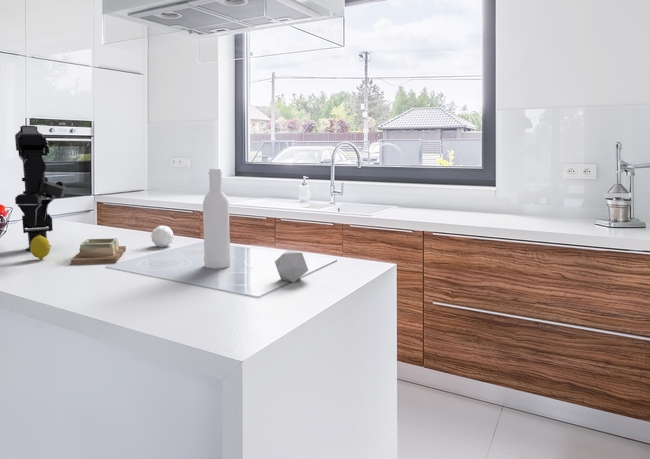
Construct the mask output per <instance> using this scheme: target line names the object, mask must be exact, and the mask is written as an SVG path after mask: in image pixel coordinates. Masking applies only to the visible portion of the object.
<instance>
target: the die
mask: <svg viewBox="0 0 650 459" xmlns="http://www.w3.org/2000/svg"><path fill="white" fill-rule="evenodd" d="M274 264H275V267H276V269H277V272H278V276H279V278H280V280H282V281H286V280H287V282H291V283H296V282H297V281H298V280H299V279H300V278H301V277H302V276H304V275H305V274H306V273H307V272H308V271H309V269H308V265H307V263H306V260H305V257H304V254H303V252H301V251H296V250H292V249H287V251H285V252H284V253H282V254H281V255H280V256H279V257H278V258H277V259H276V260H274Z"/></svg>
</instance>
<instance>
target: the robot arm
mask: <svg viewBox="0 0 650 459" xmlns="http://www.w3.org/2000/svg"><path fill="white" fill-rule="evenodd" d="M19 127H20V130H19V131H18V132H16V133H15V134H14V140H15V151H16V152H18V157H19V159H20V160H21V161H22V169H23V177H21V181H22V182H24V190H23V191H22V193H20V194H17V195H16V196H15V197H14V201H15V202H14V203H15V205H17V208H19V209H20V210H21V212H22V214H23V215H21V221H22V230H23V231H22V232H23V234H27V238H28V240H27V241H28V247H26V248H25V251H31V250H30V244H31V241H32V239H33V238H35V237H37V236H38V235H41V236H43V237H45V238H46V239H47V240H48V234H47V232H52V231H54V228H53V217H51V216H50V213H48V208H49V205H50V203H52V202H53V201H54V200H55V198H58V199H62V198H63V197H65V196H64V195H65V193H66V191H67V186H65V182H64V181H57V182H56V183H54V182H50V181H49V178H48V177H47V176H46V175H45V173H46V169H47V168H46V167H47V165H46V162H45V161H44V158H43V157H47V156H48V154H50V149H49V148H50V147H49V142H48V140H47V138H46V136H44V135H43V133H41V132H39V131H38V126H35V125H22V126H19ZM51 247H52V245H51V244H50V248H51Z"/></svg>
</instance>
